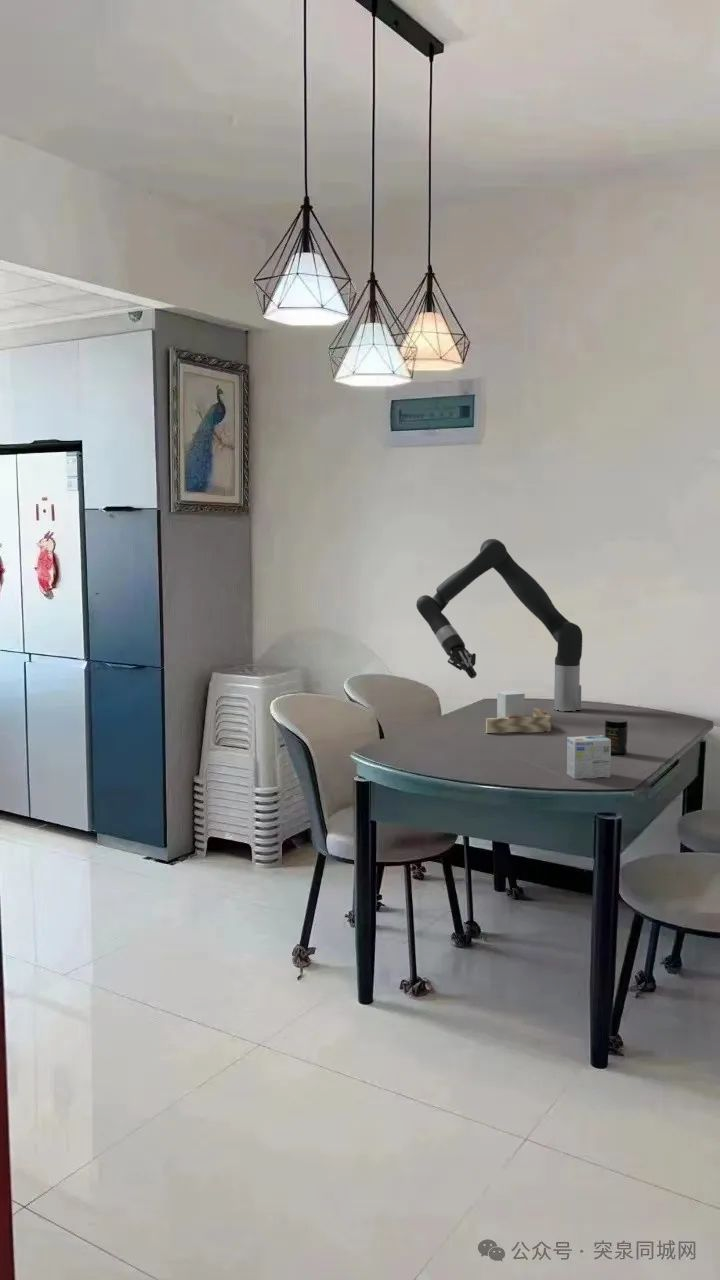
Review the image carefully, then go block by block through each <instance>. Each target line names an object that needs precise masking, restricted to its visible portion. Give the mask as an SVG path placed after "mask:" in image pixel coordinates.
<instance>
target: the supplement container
mask: <svg viewBox="0 0 720 1280" xmlns="http://www.w3.org/2000/svg"><path fill="white" fill-rule="evenodd" d="M628 726H629V720H628V719H626V718H620V717H608V718H605V720H604V737H606V738H608V739H610V740H611V756H613V755H622V756H625V755H627V753H628V735H629V734H628V733H629V732H628V729H629V728H628Z"/></svg>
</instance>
